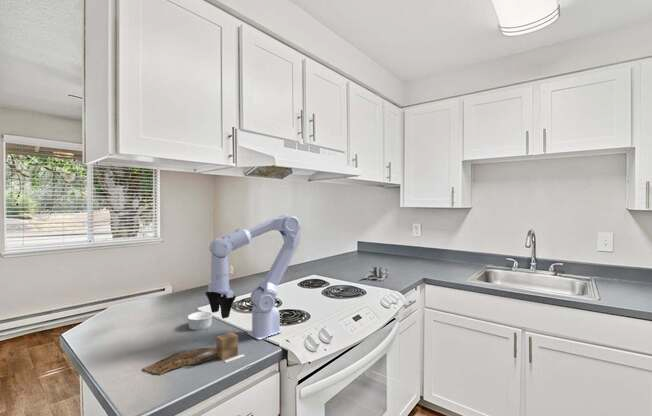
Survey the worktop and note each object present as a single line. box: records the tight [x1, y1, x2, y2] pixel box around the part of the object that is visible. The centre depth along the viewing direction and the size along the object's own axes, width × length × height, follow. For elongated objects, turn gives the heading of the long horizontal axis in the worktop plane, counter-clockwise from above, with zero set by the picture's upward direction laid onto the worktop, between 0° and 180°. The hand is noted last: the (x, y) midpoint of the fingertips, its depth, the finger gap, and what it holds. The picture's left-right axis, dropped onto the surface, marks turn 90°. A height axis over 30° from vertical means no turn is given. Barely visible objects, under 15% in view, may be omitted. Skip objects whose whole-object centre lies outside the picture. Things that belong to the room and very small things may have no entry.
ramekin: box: [187, 310, 213, 331], centre depth 120 cm, size 9×9×4 cm
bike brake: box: [358, 265, 390, 282], centre depth 197 cm, size 14×7×20 cm
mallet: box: [195, 331, 239, 361], centre depth 94 cm, size 12×4×6 cm, turn 134°
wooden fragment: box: [141, 346, 219, 376], centre depth 95 cm, size 26×11×1 cm, turn 125°
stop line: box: [223, 354, 246, 364], centre depth 94 cm, size 6×1×1 cm, turn 134°
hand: (220, 314), depth 105 cm, fingers open, 7 cm apart
